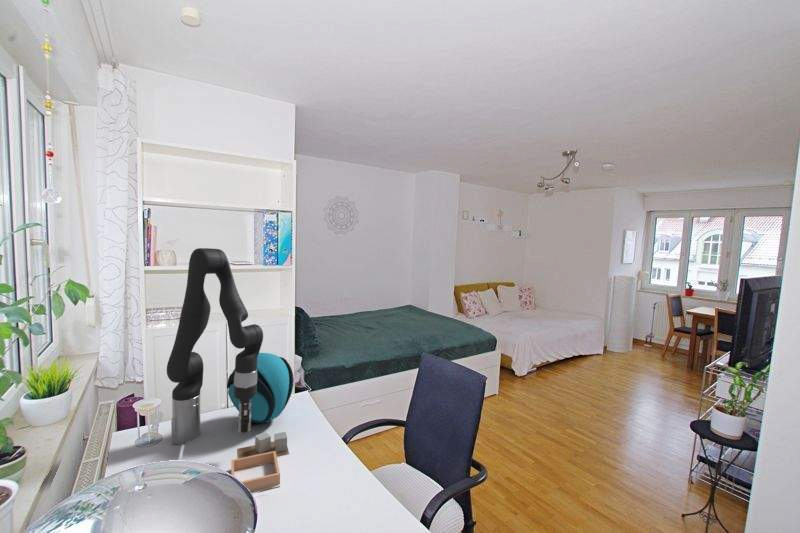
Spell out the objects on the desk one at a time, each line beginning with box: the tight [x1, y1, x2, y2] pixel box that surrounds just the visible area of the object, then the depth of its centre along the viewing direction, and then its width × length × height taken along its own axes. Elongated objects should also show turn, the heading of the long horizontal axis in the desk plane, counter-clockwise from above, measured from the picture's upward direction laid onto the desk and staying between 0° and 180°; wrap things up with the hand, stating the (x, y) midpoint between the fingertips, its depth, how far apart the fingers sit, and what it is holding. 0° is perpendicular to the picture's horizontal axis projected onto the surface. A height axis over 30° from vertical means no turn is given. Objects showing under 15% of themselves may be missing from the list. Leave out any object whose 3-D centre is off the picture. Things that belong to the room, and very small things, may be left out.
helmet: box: [226, 352, 295, 426], centre depth 149 cm, size 26×24×30 cm
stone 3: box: [273, 431, 288, 453], centre depth 132 cm, size 4×4×5 cm
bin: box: [230, 451, 281, 493], centre depth 116 cm, size 14×13×4 cm
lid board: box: [236, 440, 290, 459], centre depth 130 cm, size 17×10×1 cm, turn 116°
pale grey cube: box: [254, 431, 272, 453], centre depth 131 cm, size 4×4×5 cm
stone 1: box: [237, 412, 252, 434], centre depth 125 cm, size 4×4×5 cm
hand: (244, 428), depth 125 cm, fingers closed on stone 1, 4 cm apart
